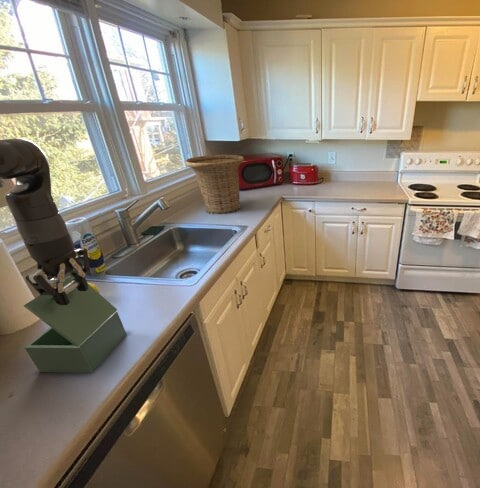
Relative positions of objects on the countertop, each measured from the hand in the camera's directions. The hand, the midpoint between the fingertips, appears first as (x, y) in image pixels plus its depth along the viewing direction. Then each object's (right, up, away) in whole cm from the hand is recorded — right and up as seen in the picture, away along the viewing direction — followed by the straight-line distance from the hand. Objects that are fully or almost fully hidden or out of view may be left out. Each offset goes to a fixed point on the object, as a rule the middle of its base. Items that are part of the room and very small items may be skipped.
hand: (74, 296), depth 69 cm
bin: (-4, -17, +8) cm, 19 cm away
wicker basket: (-6, +37, +120) cm, 126 cm away
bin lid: (-1, -3, +2) cm, 4 cm away
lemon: (-19, -8, +29) cm, 35 cm away
